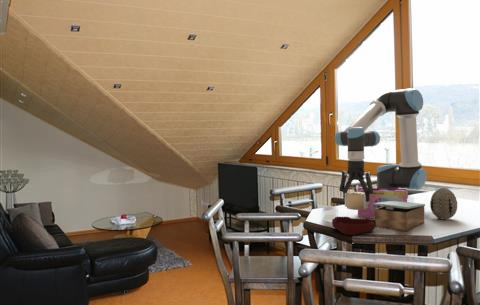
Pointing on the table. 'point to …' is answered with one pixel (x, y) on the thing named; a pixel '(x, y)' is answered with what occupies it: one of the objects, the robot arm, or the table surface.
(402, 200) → the gum box
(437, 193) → the decorative egg
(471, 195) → the table surface
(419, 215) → the chest
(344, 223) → the dark red bean shape
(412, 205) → the lid
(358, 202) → the beige rounded cone
